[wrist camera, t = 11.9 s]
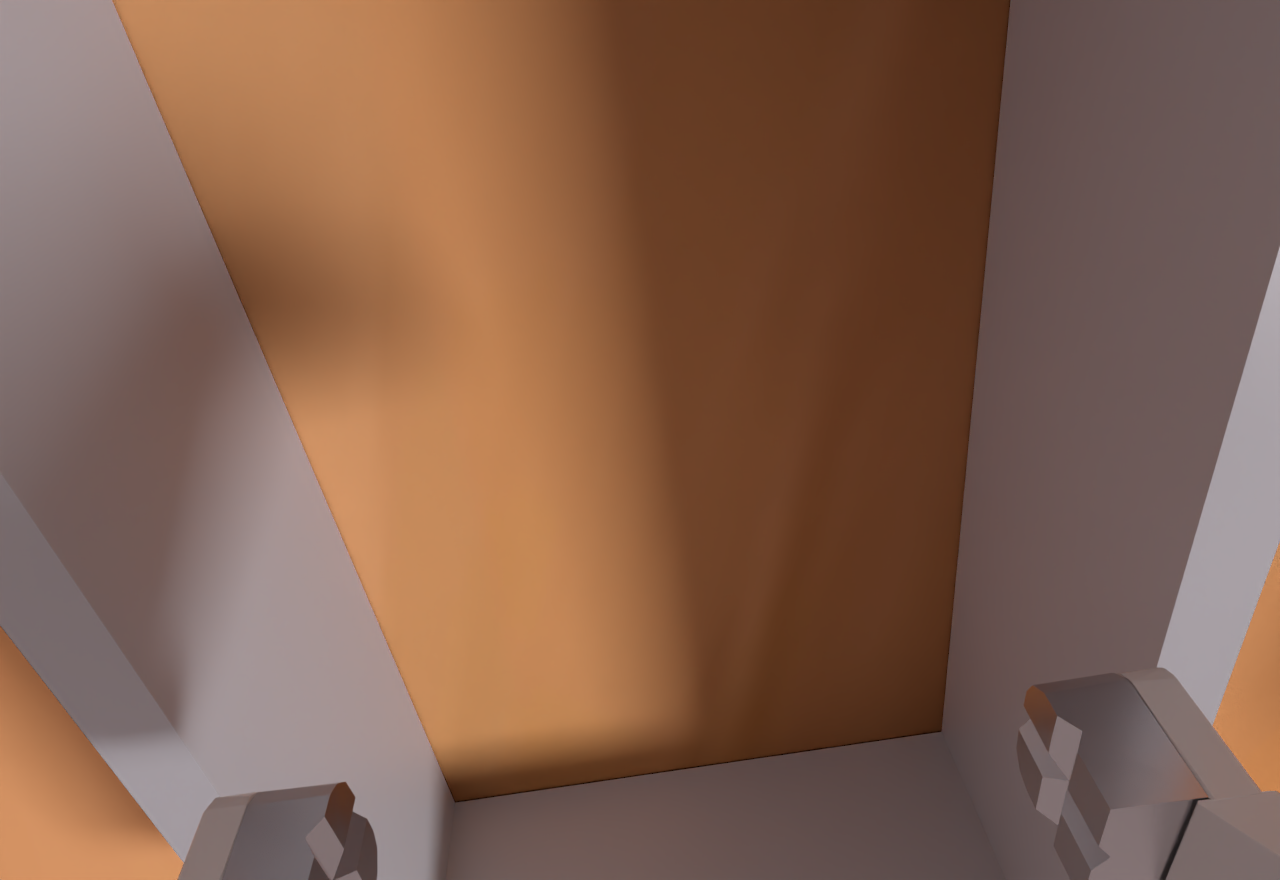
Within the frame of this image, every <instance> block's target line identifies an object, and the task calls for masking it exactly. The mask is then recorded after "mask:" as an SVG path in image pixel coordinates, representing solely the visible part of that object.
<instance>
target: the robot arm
mask: <svg viewBox="0 0 1280 880" xmlns="http://www.w3.org/2000/svg"><path fill="white" fill-rule="evenodd" d="M1024 707H1025V709H1026V711H1027V713H1028V715H1029V717H1030V720H1028V721H1027V722H1026V723H1025V724H1024V725H1023V726H1022V727H1021V728H1020V729H1019V732H1018V739H1017V746H1016V749H1017V755H1018V762H1019V769H1020V772H1021V775H1022V778H1023V781H1024V784H1025V787H1026V790H1027V792H1028V794H1029V796H1030V798H1031V800H1032V802H1033V805H1034V807H1035V809H1036V810H1038V811H1039V812H1040V813H1042V814H1043V815H1044V816H1046V817H1047V818H1048V819H1050V820H1051V821H1053V822H1054V823H1055V824H1057V825H1058V827H1057V832H1056V836H1055V840H1054V845H1053V846H1054V848H1055V850H1056V852H1057V854H1058V856H1059V858H1060V860H1061V862H1062V864H1063V866H1064V868H1065V870H1066V872H1067V874H1068V876H1069V878H1070V880H1280V793H1279V792H1277V791H1266V792H1261V790H1260V789H1259V788H1258V786H1257V785H1256V784H1255V782H1254V781H1253V780H1252V778H1251V777H1250V776H1249V774H1248V773H1247V772H1246V770H1245V769H1244V768H1243V766H1242V765H1241V764H1240V762H1239V761H1238V760H1237V758H1236V757H1235V756H1234V754H1233V753H1232V752H1231V750H1230V749H1229V748H1228V746H1227V745H1226V744H1225V742H1224V741H1223V739H1222V738H1221V737H1220V735H1219V734H1218V733H1217V731H1216V730H1215V729H1214V727H1213V726H1212V725H1211V723H1210V722H1209V721H1208V719H1207V718H1206V717H1205V715H1204V714H1203V713H1202V711H1201V710H1200V709H1199V707H1198V706H1197V705H1196V703H1195V702H1194V701H1193V699H1192V698H1191V697H1190V695H1189V694H1188V693H1187V691H1186V690H1185V689H1184V687H1183V686H1182V685H1181V683H1180V682H1179V681H1178V679H1177V678H1176V677H1175V675H1174V674H1172V673H1171V672H1170V671H1168V670H1167V669H1165V668H1156V667H1155V668H1149V669H1143V670H1137V671H1130V672H1124V673H1118V674H1115V673H1107V674H1101V675H1094V676H1088V677H1082V678H1075V679H1069V680H1062V681H1056V682H1049V683H1043V684H1036V685H1032V686H1031V687H1030V688H1029V689H1028V690H1027V691H1026V696H1025V700H1024ZM355 798H356V797H355V796H354V794H353V792H352V791H351V789H350V788H349V786H348V784H347V783H346V782H337V783H329V784H321V785H313V786H305V787H296V788H288V789H280V790H272V791H264V792H253V793H246V794H238V795H231V796H224V797H217V798H215V799H214V800H213V801H212V802H211V804H210V805H209V806H208V807H207V809H206V810H205V811H204V813H203V815H202V818H201V820H200V823H199V825H198V828H197V830H196V833H195V836H194V838H193V841H192V843H191V846H190V849H189V851H188V854H187V856H186V859H185V861H184V864H183V867H182V869H181V872H180V874H179V877H178V879H177V880H377V874H378V865H377V844H376V840H375V835H374V831H373V829H372V827H371V825H370V823H369V821H368V819H367V818H365V817H363V816H361V815H359V814H357V813H355V812H353V807H354V802H355Z"/></svg>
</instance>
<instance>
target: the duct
mask: <svg viewBox="0 0 1280 880" xmlns="http://www.w3.org/2000/svg"><path fill="white" fill-rule="evenodd" d="M1279 542H1280V0H1011V1H1010V11H1009V22H1008V32H1007V43H1006V54H1005V64H1004V75H1003V85H1002V96H1001V107H1000V117H999V128H998V138H997V149H996V160H995V170H994V181H993V191H992V202H991V213H990V223H989V234H988V244H987V255H986V266H985V276H984V287H983V297H982V308H981V319H980V329H979V340H978V350H977V361H976V372H975V382H974V393H973V403H972V414H971V425H970V435H969V446H968V456H967V467H966V478H965V488H964V499H963V509H962V520H961V531H960V541H959V552H958V562H957V573H956V584H955V594H954V605H953V615H952V626H951V637H950V647H949V658H948V668H947V679H946V690H945V700H944V711H943V721H942V732H937V733H930V734H923V735H916V736H909V737H902V738H895V739H889V740H882V741H875V742H868V743H861V744H854V745H847V746H841V747H834V748H827V749H820V750H813V751H806V752H799V753H793V754H786V755H779V756H772V757H765V758H758V759H751V760H744V761H738V762H731V763H724V764H717V765H710V766H703V767H696V768H690V769H683V770H676V771H669V772H662V773H655V774H648V775H642V776H635V777H628V778H621V779H614V780H607V781H600V782H594V783H587V784H580V785H573V786H566V787H559V788H552V789H545V790H539V791H532V792H525V793H518V794H511V795H504V796H497V797H491V798H484V799H477V800H470V801H463V802H456V803H455V801H454V799H453V797H452V794H451V792H450V790H449V787H448V785H447V783H446V780H445V778H444V776H443V773H442V771H441V769H440V766H439V764H438V762H437V759H436V757H435V755H434V752H433V750H432V748H431V745H430V743H429V741H428V738H427V736H426V734H425V731H424V729H423V727H422V724H421V722H420V720H419V717H418V715H417V713H416V710H415V708H414V706H413V703H412V701H411V699H410V696H409V694H408V692H407V689H406V687H405V685H404V682H403V680H402V678H401V675H400V673H399V671H398V668H397V666H396V663H395V661H394V659H393V656H392V654H391V652H390V649H389V647H388V645H387V642H386V640H385V638H384V635H383V633H382V631H381V628H380V626H379V624H378V621H377V619H376V617H375V614H374V612H373V610H372V607H371V605H370V603H369V600H368V598H367V596H366V593H365V591H364V589H363V586H362V584H361V582H360V579H359V577H358V575H357V572H356V570H355V568H354V565H353V563H352V561H351V558H350V556H349V554H348V551H347V549H346V547H345V544H344V542H343V540H342V537H341V535H340V532H339V530H338V528H337V525H336V523H335V521H334V518H333V516H332V514H331V511H330V509H329V507H328V504H327V502H326V500H325V497H324V495H323V493H322V490H321V488H320V486H319V483H318V481H317V479H316V476H315V474H314V472H313V469H312V467H311V465H310V462H309V460H308V458H307V455H306V453H305V451H304V448H303V446H302V444H301V441H300V439H299V437H298V434H297V432H296V430H295V427H294V425H293V423H292V420H291V418H290V416H289V413H288V411H287V409H286V406H285V404H284V402H283V399H282V397H281V394H280V392H279V390H278V387H277V385H276V383H275V380H274V378H273V376H272V373H271V371H270V369H269V366H268V364H267V362H266V359H265V357H264V355H263V352H262V350H261V348H260V345H259V343H258V341H257V338H256V336H255V334H254V331H253V329H252V327H251V324H250V322H249V320H248V317H247V315H246V313H245V310H244V308H243V306H242V303H241V301H240V299H239V296H238V294H237V292H236V289H235V287H234V285H233V282H232V280H231V278H230V275H229V273H228V271H227V268H226V266H225V263H224V261H223V259H222V256H221V254H220V252H219V249H218V247H217V245H216V242H215V240H214V238H213V235H212V233H211V231H210V228H209V226H208V224H207V221H206V219H205V217H204V214H203V212H202V210H201V207H200V205H199V203H198V200H197V198H196V196H195V193H194V191H193V189H192V186H191V184H190V182H189V179H188V177H187V175H186V172H185V170H184V168H183V165H182V163H181V161H180V158H179V156H178V154H177V151H176V149H175V147H174V144H173V142H172V140H171V137H170V135H169V133H168V130H167V128H166V125H165V123H164V121H163V118H162V116H161V114H160V111H159V109H158V107H157V104H156V102H155V100H154V97H153V95H152V93H151V90H150V88H149V86H148V83H147V81H146V79H145V76H144V74H143V72H142V69H141V67H140V65H139V62H138V60H137V58H136V55H135V53H134V51H133V48H132V46H131V44H130V41H129V39H128V37H127V34H126V32H125V30H124V27H123V25H122V23H121V20H120V18H119V16H118V13H117V11H116V9H115V6H114V4H113V2H112V0H0V626H1V627H2V628H3V630H4V631H5V632H6V634H7V635H8V636H9V638H10V639H11V640H12V641H13V643H14V644H15V645H16V647H17V648H18V649H19V650H20V652H21V653H22V654H23V656H24V657H25V658H26V659H27V661H28V662H29V663H30V665H31V666H32V667H33V669H34V670H35V671H36V672H37V674H38V675H39V676H40V678H41V679H42V680H43V681H44V683H45V684H46V685H47V687H48V688H49V689H50V691H51V692H52V693H53V694H54V696H55V697H56V698H57V700H58V701H59V702H60V703H61V705H62V706H63V707H64V709H65V710H66V711H67V713H68V714H69V715H70V716H71V718H72V719H73V720H74V722H75V723H76V724H77V725H78V727H79V728H80V729H81V731H82V732H83V733H84V735H85V736H86V737H87V738H88V740H89V741H90V742H91V744H92V745H93V746H94V747H95V749H96V750H97V751H98V753H99V754H100V755H101V756H102V758H103V759H104V760H105V762H106V763H107V764H108V766H109V767H110V768H111V769H112V771H113V772H114V773H115V775H116V776H117V777H118V778H119V780H120V781H121V782H122V784H123V785H124V786H125V788H126V789H127V790H128V791H129V793H130V794H131V795H132V797H133V798H134V799H135V800H136V802H137V803H138V804H139V806H140V807H141V808H142V810H143V811H144V812H145V813H146V815H147V816H148V817H149V819H150V820H151V821H152V822H153V824H154V825H155V826H156V828H157V829H158V830H159V832H160V833H161V834H162V835H163V837H164V838H165V839H166V841H167V842H168V843H169V844H170V846H171V847H172V848H173V850H174V851H175V852H176V854H177V855H178V856H179V857H180V859H181V860H182V861H183V863H184V861H185V859H186V856H187V854H188V851H189V849H190V846H191V843H192V841H193V838H194V836H195V833H196V830H197V828H198V825H199V823H200V820H201V818H202V815H203V813H204V811H205V810H206V809H207V807H208V806H209V805H210V804H211V802H212V801H213V800H214V799H215V798H217V797H224V796H231V795H238V794H246V793H253V792H264V791H272V790H280V789H288V788H296V787H305V786H313V785H321V784H329V783H337V782H346V783H347V784H348V786H349V788H350V789H351V791H352V792H353V794H354V796H355V797H356V798H355V802H354V807H353V812H355V813H357V814H359V815H361V816H363V817H365V818H367V819H368V821H369V823H370V825H371V827H372V829H373V831H374V835H375V840H376V844H377V865H378V874H377V880H1070V878H1069V876H1068V874H1067V872H1066V870H1065V868H1064V866H1063V864H1062V862H1061V860H1060V858H1059V856H1058V854H1057V852H1056V850H1055V848H1054V846H1053V845H1054V840H1055V836H1056V832H1057V827H1058V825H1057V824H1055V823H1054V822H1053V821H1051V820H1050V819H1048V818H1047V817H1046V816H1044V815H1043V814H1042V813H1040V812H1039V811H1038V810H1036V809H1035V807H1034V805H1033V802H1032V800H1031V798H1030V796H1029V794H1028V792H1027V790H1026V787H1025V784H1024V781H1023V778H1022V775H1021V772H1020V769H1019V762H1018V755H1017V749H1016V746H1017V739H1018V732H1019V729H1020V728H1021V727H1022V726H1023V725H1024V724H1025V723H1026V722H1027V721H1028V720H1030V717H1029V715H1028V713H1027V711H1026V709H1025V707H1024V700H1025V696H1026V691H1027V690H1028V689H1029V688H1030V687H1031V686H1032V685H1036V684H1043V683H1049V682H1056V681H1062V680H1069V679H1075V678H1082V677H1088V676H1094V675H1101V674H1107V673H1115V674H1118V673H1124V672H1130V671H1137V670H1143V669H1149V668H1155V667H1156V668H1165V669H1167V670H1168V671H1170V672H1171V673H1172V674H1174V675H1175V677H1176V678H1177V679H1178V681H1179V682H1180V683H1181V685H1182V686H1183V687H1184V689H1185V690H1186V691H1187V693H1188V694H1189V695H1190V697H1191V698H1192V699H1193V701H1194V702H1195V703H1196V705H1197V706H1198V707H1199V709H1200V710H1201V711H1202V713H1203V714H1204V715H1205V717H1206V718H1207V719H1208V721H1209V722H1210V723H1211V725H1213V722H1214V720H1215V717H1216V714H1217V711H1218V709H1219V706H1220V703H1221V700H1222V698H1223V695H1224V692H1225V690H1226V687H1227V684H1228V681H1229V679H1230V676H1231V673H1232V670H1233V668H1234V665H1235V662H1236V659H1237V657H1238V654H1239V651H1240V648H1241V646H1242V643H1243V640H1244V638H1245V635H1246V632H1247V629H1248V627H1249V624H1250V621H1251V618H1252V616H1253V613H1254V610H1255V607H1256V605H1257V602H1258V599H1259V596H1260V594H1261V591H1262V588H1263V586H1264V583H1265V580H1266V577H1267V575H1268V572H1269V569H1270V566H1271V564H1272V561H1273V558H1274V555H1275V553H1276V550H1277V547H1278V545H1279Z"/></svg>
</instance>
